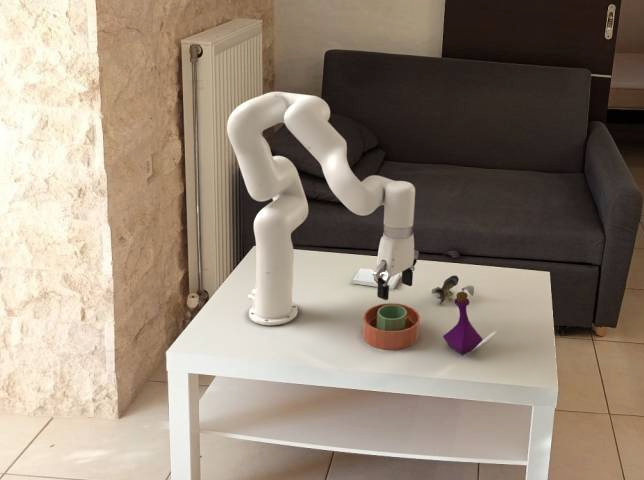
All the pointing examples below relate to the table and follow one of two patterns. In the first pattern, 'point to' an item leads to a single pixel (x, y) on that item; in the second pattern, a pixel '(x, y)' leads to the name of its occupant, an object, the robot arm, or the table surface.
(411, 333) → the terracotta bowl
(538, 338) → the table surface
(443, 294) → the eagle figurine
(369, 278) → the hard drive
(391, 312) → the green faceted cup
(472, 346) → the perfume bottle
